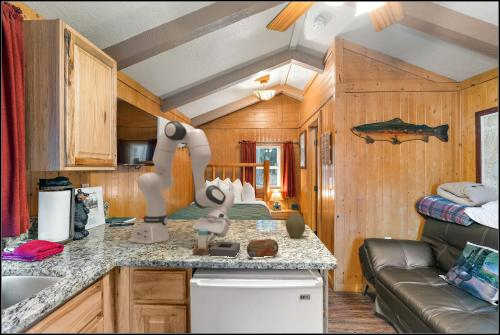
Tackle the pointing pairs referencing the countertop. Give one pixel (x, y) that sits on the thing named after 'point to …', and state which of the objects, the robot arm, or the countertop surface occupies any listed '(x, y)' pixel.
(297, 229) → the olive brown vase
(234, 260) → the countertop surface
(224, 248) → the port
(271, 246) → the tin
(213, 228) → the robot arm
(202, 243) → the blue capped bottle
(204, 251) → the brown shallow square box
